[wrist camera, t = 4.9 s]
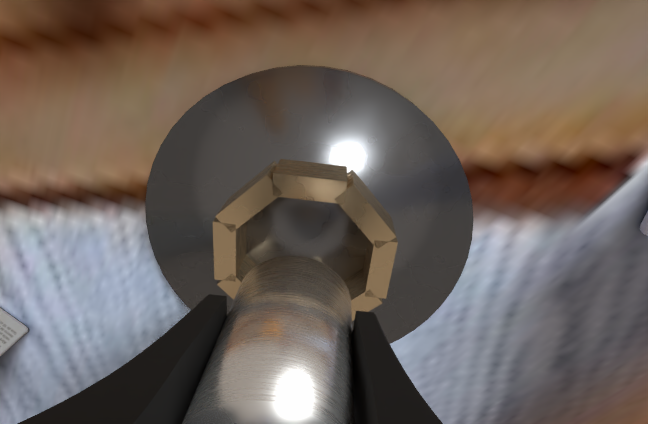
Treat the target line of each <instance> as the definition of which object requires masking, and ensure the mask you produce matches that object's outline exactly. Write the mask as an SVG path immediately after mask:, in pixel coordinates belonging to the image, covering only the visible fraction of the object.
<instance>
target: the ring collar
mask: <svg viewBox="0 0 648 424" xmlns="http://www.w3.org/2000/svg"><path fill="white" fill-rule="evenodd" d="M146 223H147V229H148V234H149V239H150V243H151V246H152V249H153V252H154V255H155V258H156V260H157V262H158V264H159V266H160V268H161V270H162V272H163V274H164V276H165V278H166V279H167V281H168V282H169V284H170V285H171V287H172V288H173V290H174V291H175V292H176V294H177V295H178V296H179V297H180V298H181V300H182V301H183V302H184V303H185V304H186V305H187V306H188V307H189V308H190V309H191V310H192V309H193V308H194V307H195V306H196V305H198V304H199V303H200V302H201V301H202V300H203V299H204V298H205V297H206V296H207V295H209V294H212V295H221V296H227V315H228V313H229V310H230V308H231V306H232V303H233V301H234V299H235V296H236V294H237V291H238V289H239V287H240V284H241V282H242V280H243V279H244V277H245V276H246V274H247V273H248V272H249V271H250V270H251V269H252V268H254V267H255V266H256V265H258V264H260V263H262V262H263V261H266V260H268V259H271V258H275V257H281V256H301V257H306V258H310V259H313V260H316V261H318V262H321V263H323V264H325V265H326V266H328V267H329V268H331V269H332V270H333V271H335V272H336V273H337V274H338V275H339V276H340V277H341V279H342V280H343V281H344V283H345V284H346V286H347V288H348V290H349V293H350V297H351V310H352V331H353V325H354V320H355V314H356V311H365V312H374V313H375V315H376V316H377V319H378V321H379V323H380V326H381V328H382V330H383V332H384V334H385V336H386V338H387V340H388V342H389V344H390V343H392V342H394V341H396V340H399V339H400V338H402V337H404V336H405V335H407V334H408V333H410V332H412V331H413V330H415V329H416V328H417V327H418V326H420V325H421V324H422V323H423V322H425V321H426V320H427V319H428V318H429V317H430V316H431V315H432V314H433V313H434V312H435V311H436V310H437V309H438V308H439V307H440V306H441V305H442V304H443V302H444V301H445V300H446V298H447V297H448V296H449V294H450V293H451V292H452V290H453V288H454V286H455V285H456V283H457V281H458V279H459V277H460V276H461V273H462V271H463V268H464V266H465V263H466V260H467V258H468V253H469V249H470V245H471V240H472V230H473V210H472V199H471V194H470V190H469V186H468V181H467V178H466V176H465V173H464V171H463V168H462V166H461V163H460V161H459V158H458V157H457V155H456V153H455V152H454V150H453V148H452V147H451V145H450V143H449V141H448V140H447V139H446V137H445V136H444V135H443V134H442V132H441V131H440V130H439V129H438V127H437V126H436V125H435V124H434V122H433V121H431V120H430V119H429V118H428V117H427V116H426V115H425V114H424V113H423V112H422V111H421V110H420V109H418V108H417V107H416V106H415V105H414V104H413V103H412V102H411V101H409V100H408V99H406V98H405V97H403V96H402V95H400V94H399V93H397V92H396V91H395V90H393V89H391V88H389V87H387V86H385V85H383V84H381V83H379V82H377V81H375V80H373V79H371V78H369V77H366V76H363V75H359V74H356V73H353V72H350V71H347V70H342V69H336V68H331V67H325V66H305V65H297V66H287V67H277V68H272V69H268V70H264V71H260V72H256V73H252V74H250V75H247V76H244V77H242V78H240V79H237V80H235V81H232V82H230V83H227V84H225V85H223V86H221V87H220V88H218V89H216V90H215V91H213V92H211V93H210V94H208V95H206V96H205V97H203V98H202V99H201V100H200V101H199V102H197V103H196V104H195V105H194V106H193V107H191V108H190V109H189V110H188V111H187V112H186V113H185V114H184V115H183V116H182V117H181V118H180V120H179V121H178V122H177V123H176V124H175V125H174V126H173V127H172V129H171V130H170V132H169V134H168V135H167V137H166V138H165V140H164V141H163V143H162V144H161V146H160V149H159V151H158V153H157V155H156V158H155V160H154V162H153V165H152V169H151V172H150V176H149V180H148V184H147V193H146Z"/></svg>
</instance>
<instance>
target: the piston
mask: <svg viewBox="0 0 648 424" xmlns="http://www.w3.org/2000/svg"><path fill="white" fill-rule="evenodd" d="M182 424H355V415H354V380H353V345H352V310H351V297H350V293H349V290H348V288H347V286H346V284H345V283H344V281H343V280H342V279H341V277H340V276H339V275H338V274H337V273H336V272H335V271H333V270H332V269H331V268H329V267H328V266H326V265H325V264H323V263H321V262H318V261H316V260H313V259H310V258H306V257H301V256H281V257H275V258H271V259H268V260H266V261H263V262H262V263H260V264H258V265H256V266H255V267H254V268H252V269H251V270H250V271H249V272H248V273H247V274H246V276H245V277H244V279H243V280H242V282H241V284H240V287H239V289H238V291H237V294H236V296H235V299H234V301H233V303H232V306H231V308H230V310H229V313H228V315H227V318H226V320H225V322H224V325H223V327H222V330H221V332H220V334H219V337H218V339H217V341H216V344H215V346H214V349H213V351H212V353H211V356H210V358H209V361H208V363H207V365H206V368H205V370H204V372H203V375H202V377H201V380H200V382H199V384H198V387H197V389H196V392H195V394H194V396H193V399H192V401H191V403H190V406H189V408H188V411H187V413H186V415H185V418H184V420H183V423H182Z"/></svg>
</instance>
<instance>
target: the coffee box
mask: <svg viewBox="0 0 648 424" xmlns="http://www.w3.org/2000/svg"><path fill="white" fill-rule="evenodd" d="M27 332H28V328H27V327H26V326H25V325H24V324H22V323H21V322H20V321H18V320H17V319H15V318H14V317H13V316H11V315H10V314H8V313H7V312H5V311H4V310H3V309H1V308H0V356H1V355H3V354H4V353H5V352H6V351H7V350H8V349H9V348H10V347H11V346H13V345H14V344H15V343H16V342H17V341H18V340H19V339H20V338H21V337H22V336H24V335H25V334H26V333H27Z"/></svg>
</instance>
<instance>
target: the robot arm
mask: <svg viewBox="0 0 648 424" xmlns="http://www.w3.org/2000/svg"><path fill="white" fill-rule="evenodd" d="M640 231H641V232H642V233H643V234H645V235H646V236H648V211H647V213H646V215H645V217H644V219H643V221H642V223H641V225H640ZM226 318H227V296H221V295H212V294H209V295H207V296H206V297H205V298H204V299H203V300H202V301H201V302H200V303H199V304H198V305H196V306H195V307H194V308H193V309H192V310H191V311H190V312H189V313H188V314H187V315H186V316H185V317H184V318H182V319H181V320H180V321H179V322H178V323H177V324H176V325H174V326H173V327H172V328H171V329H170V330H169V331H168V332H166V333H165V334H164V335H163V336H162V337H160V338H159V339H158V340H157V341H155V342H154V343H153V344H152V345H150V346H149V347H148V348H146V349H145V350H144V351H143V352H141V353H140V354H139V355H137V356H136V357H135V358H133V359H132V360H130V361H129V362H128V363H126V364H125V365H123V366H122V367H120V368H119V369H117V370H116V371H114V372H113V373H111V374H110V375H108V376H107V377H105V378H103V379H102V380H100V381H98V382H97V383H95V384H93V385H91V386H90V387H88V388H86V389H85V390H83V391H81V392H80V393H78V394H76V395H74V396H72V397H71V398H69V399H67V400H65V401H63V402H61V403H59V404H57V405H55V406H53V407H51V408H49V409H47V410H45V411H43V412H41V413H39V414H37V415H35V416H33V417H31V418H29V419H27V420H24V421H22V422H20V423H18V424H182V423H183V420H184V418H185V415H186V413H187V411H188V408H189V406H190V403H191V401H192V399H193V396H194V394H195V392H196V389H197V387H198V384H199V382H200V380H201V377H202V375H203V372H204V370H205V368H206V365H207V363H208V361H209V358H210V356H211V353H212V351H213V349H214V346H215V344H216V341H217V339H218V337H219V334H220V332H221V330H222V327H223V325H224V322H225V320H226ZM352 345H353V380H354V415H355V424H443V423H442V422H441V421H440V420H439V418H438V417H437V416H436V415H435V413H434V412H433V411H432V410H431V408H430V407H429V406H428V404H427V403H426V402H425V400H424V399H423V398H422V396H421V395H420V393H419V392H418V391H417V389H416V388H415V386H414V385H413V383H412V382H411V380H410V378H409V377H408V375H407V374H406V372H405V371H404V369H403V367H402V366H401V364H400V362H399V360H398V359H397V357H396V355H395V353H394V352H393V350H392V348H391V346H390V344H389V342H388V340H387V338H386V336H385V334H384V332H383V330H382V328H381V326H380V323H379V321H378V319H377V316H376V315H375V313H374V312H365V311H356V314H355V320H354V325H353V331H352Z"/></svg>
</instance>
